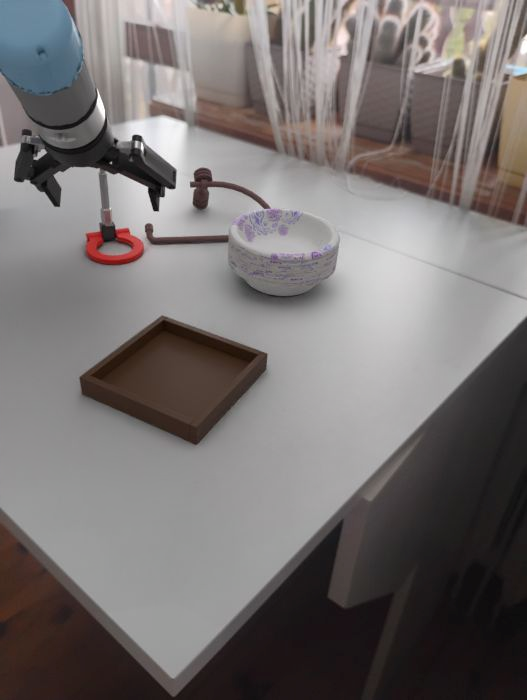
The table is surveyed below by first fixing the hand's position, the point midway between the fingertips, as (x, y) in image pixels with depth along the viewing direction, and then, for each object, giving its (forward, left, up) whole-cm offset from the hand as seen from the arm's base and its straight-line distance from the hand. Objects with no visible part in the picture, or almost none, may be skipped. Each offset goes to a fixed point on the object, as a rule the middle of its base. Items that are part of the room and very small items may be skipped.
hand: (107, 200), depth 87 cm
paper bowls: (+24, +8, -9) cm, 27 cm away
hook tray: (+25, -19, -9) cm, 33 cm away
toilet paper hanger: (+5, +19, -9) cm, 22 cm away
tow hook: (-1, +2, -9) cm, 9 cm away
